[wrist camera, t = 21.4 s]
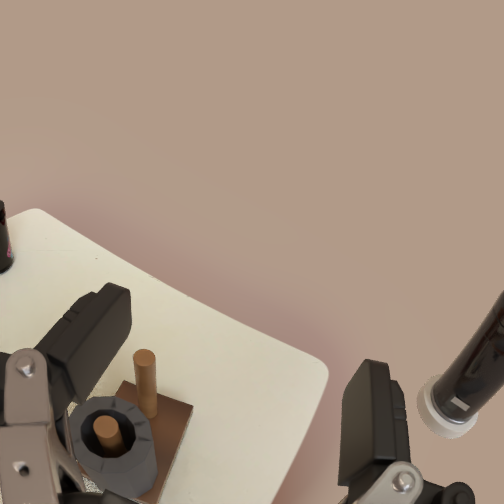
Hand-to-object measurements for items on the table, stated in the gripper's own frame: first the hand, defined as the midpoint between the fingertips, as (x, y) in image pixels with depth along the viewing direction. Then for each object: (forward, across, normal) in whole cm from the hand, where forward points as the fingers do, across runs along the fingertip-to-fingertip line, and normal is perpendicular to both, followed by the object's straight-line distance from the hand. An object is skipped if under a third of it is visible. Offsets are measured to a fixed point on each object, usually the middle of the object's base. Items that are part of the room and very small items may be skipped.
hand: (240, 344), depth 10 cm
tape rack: (+4, +7, +24) cm, 25 cm away
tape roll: (0, +7, +22) cm, 23 cm away
